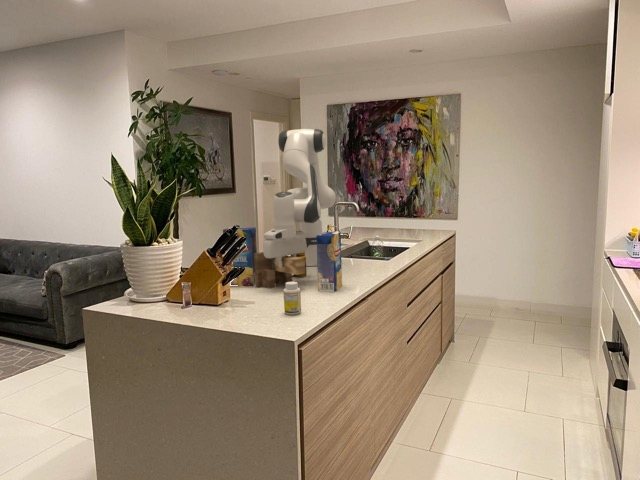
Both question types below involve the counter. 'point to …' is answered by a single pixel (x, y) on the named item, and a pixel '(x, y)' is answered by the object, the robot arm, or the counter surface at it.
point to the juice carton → (246, 257)
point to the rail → (290, 265)
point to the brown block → (268, 272)
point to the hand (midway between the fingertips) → (286, 266)
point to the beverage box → (329, 261)
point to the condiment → (302, 255)
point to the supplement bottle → (292, 298)
